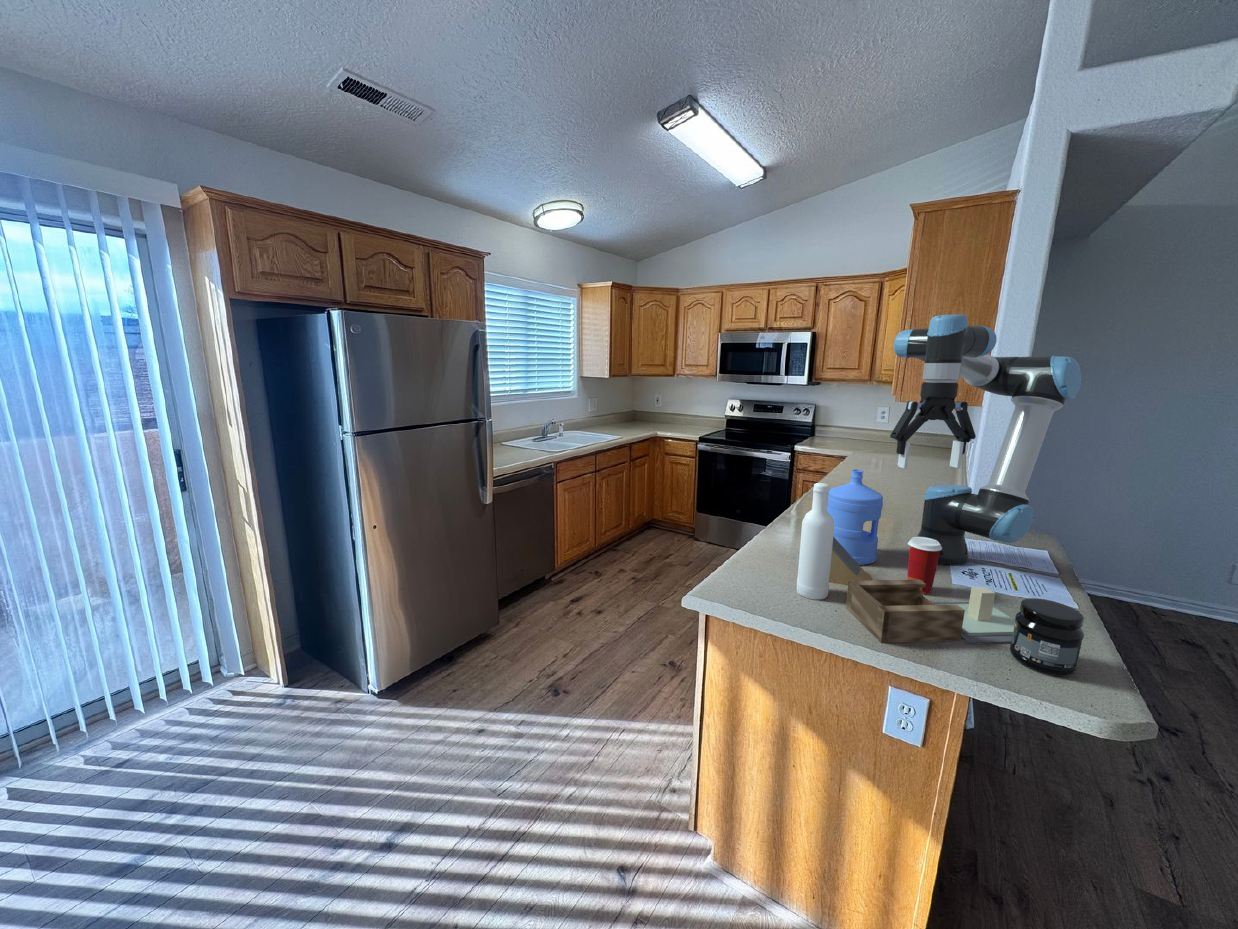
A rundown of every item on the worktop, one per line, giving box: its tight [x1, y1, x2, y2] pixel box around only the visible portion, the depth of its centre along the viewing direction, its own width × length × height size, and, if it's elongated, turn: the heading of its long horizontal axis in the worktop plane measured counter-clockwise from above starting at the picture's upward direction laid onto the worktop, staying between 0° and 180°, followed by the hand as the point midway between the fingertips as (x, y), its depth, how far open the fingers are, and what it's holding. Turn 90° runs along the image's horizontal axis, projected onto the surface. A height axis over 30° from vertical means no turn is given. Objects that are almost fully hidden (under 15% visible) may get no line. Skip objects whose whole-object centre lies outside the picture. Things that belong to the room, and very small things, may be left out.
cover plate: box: [938, 586, 1015, 636], centre depth 115 cm, size 15×13×8 cm
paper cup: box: [906, 536, 942, 595], centre depth 131 cm, size 8×8×14 cm
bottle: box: [796, 482, 834, 601], centre depth 127 cm, size 8×8×30 cm
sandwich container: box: [829, 536, 873, 587], centre depth 137 cm, size 9×15×15 cm, turn 62°
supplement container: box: [1009, 597, 1085, 677], centre depth 99 cm, size 10×10×12 cm
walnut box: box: [845, 579, 965, 643], centre depth 114 cm, size 18×15×7 cm
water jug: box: [827, 469, 884, 566], centre depth 152 cm, size 16×16×28 cm
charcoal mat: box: [932, 601, 1013, 645], centre depth 115 cm, size 18×18×1 cm
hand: (928, 467), depth 122 cm, fingers open, 13 cm apart
